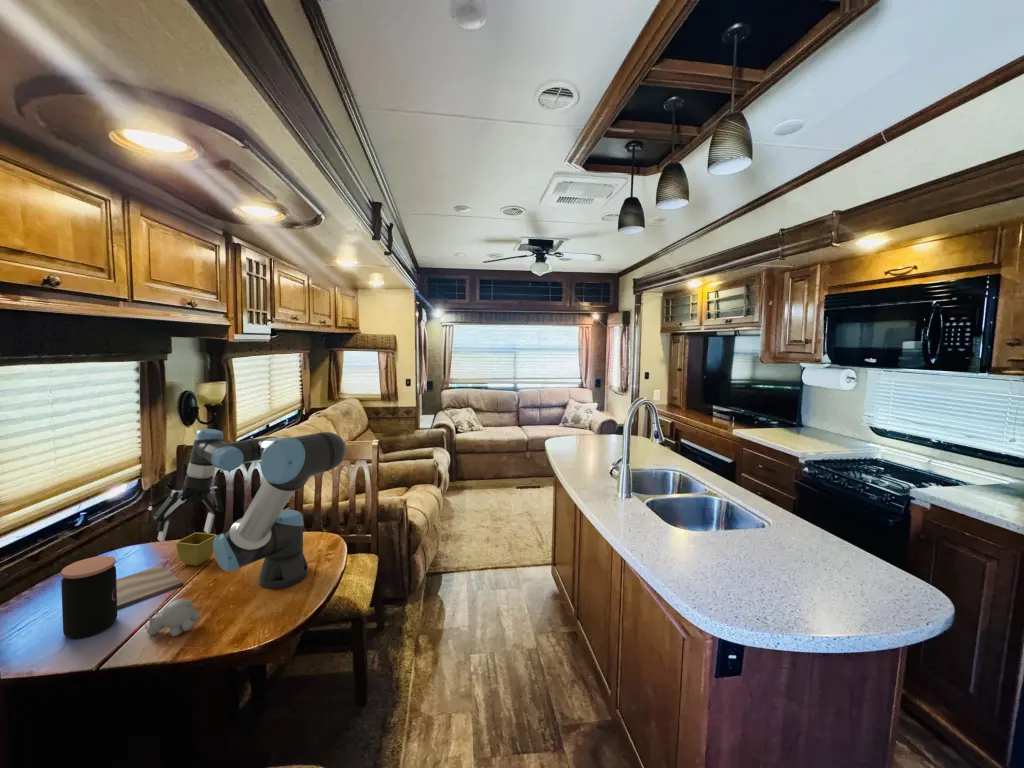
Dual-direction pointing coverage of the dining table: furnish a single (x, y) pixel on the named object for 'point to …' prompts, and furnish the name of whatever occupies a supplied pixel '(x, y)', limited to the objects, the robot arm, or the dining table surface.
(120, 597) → the walnut board
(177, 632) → the chubby cartoon animal
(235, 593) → the dining table surface
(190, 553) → the flower pot
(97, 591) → the coffee jar
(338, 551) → the dining table surface
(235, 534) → the robot arm
